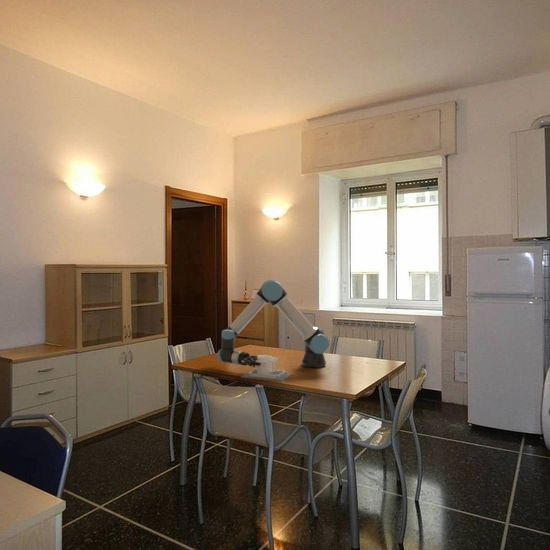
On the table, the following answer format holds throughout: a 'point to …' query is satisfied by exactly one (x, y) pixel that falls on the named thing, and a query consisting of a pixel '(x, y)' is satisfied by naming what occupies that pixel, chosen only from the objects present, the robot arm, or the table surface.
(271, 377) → the rail plate
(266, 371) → the cup
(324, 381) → the table surface
